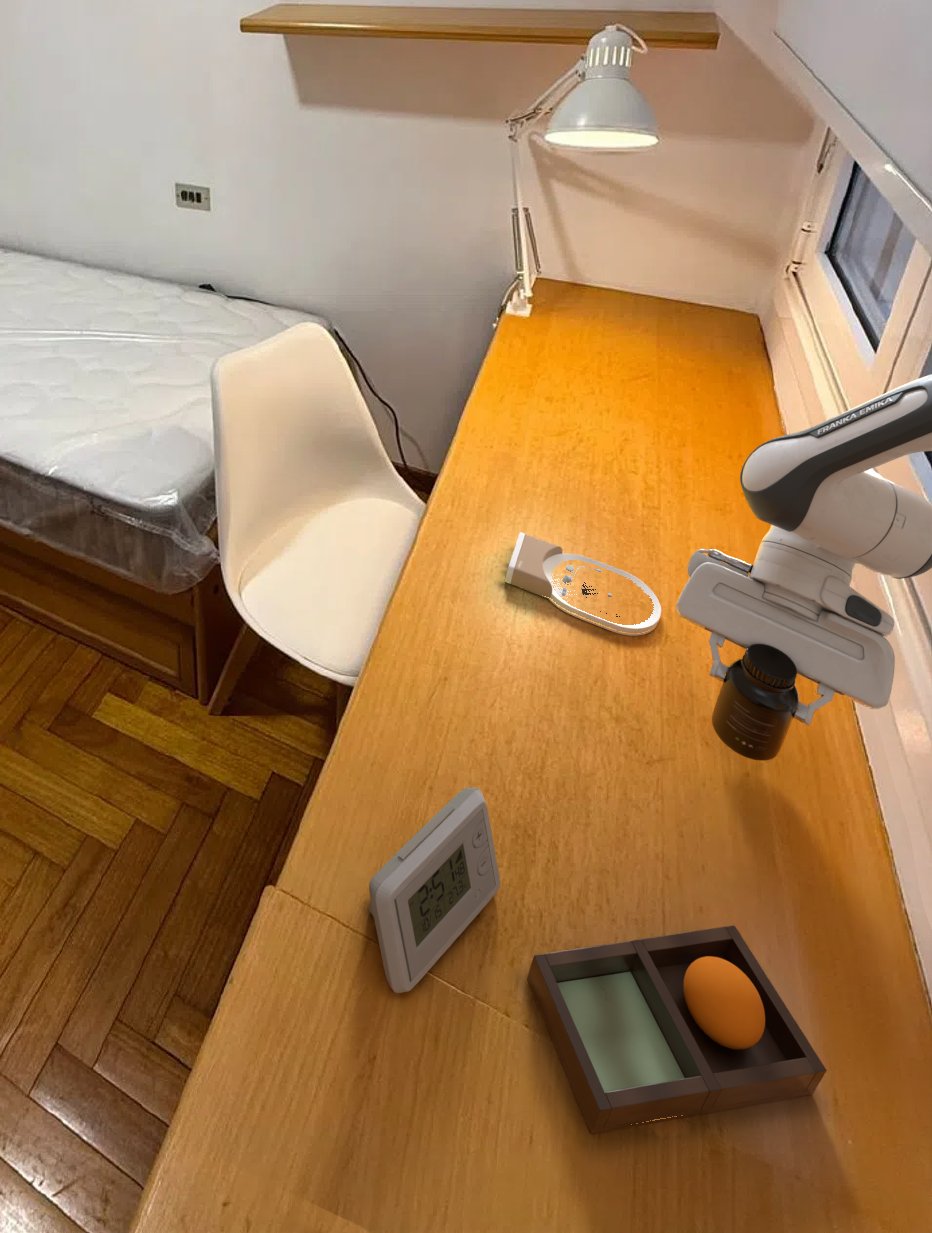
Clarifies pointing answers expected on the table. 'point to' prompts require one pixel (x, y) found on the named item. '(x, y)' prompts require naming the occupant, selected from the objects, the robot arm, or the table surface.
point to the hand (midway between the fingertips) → (757, 699)
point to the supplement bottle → (757, 702)
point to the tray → (662, 1032)
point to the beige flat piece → (566, 580)
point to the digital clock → (434, 888)
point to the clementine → (724, 1003)
